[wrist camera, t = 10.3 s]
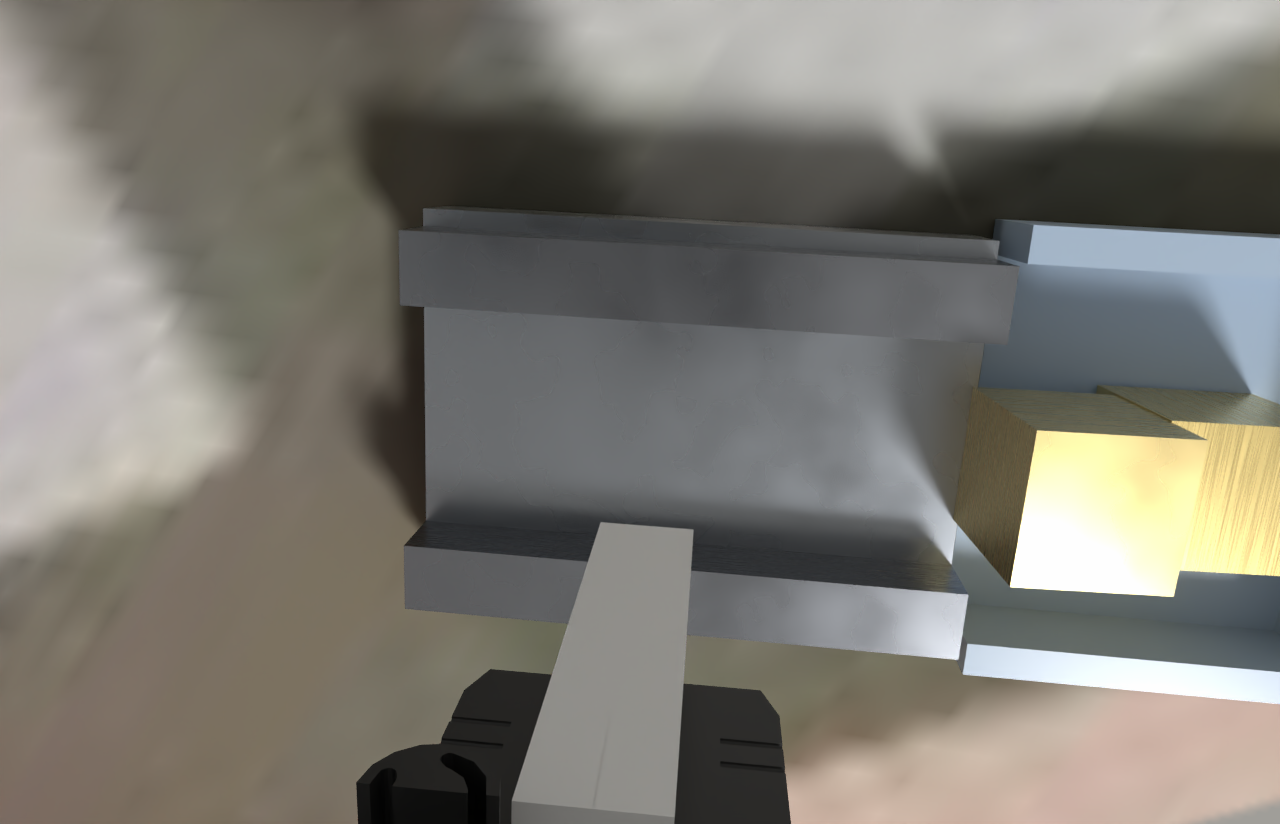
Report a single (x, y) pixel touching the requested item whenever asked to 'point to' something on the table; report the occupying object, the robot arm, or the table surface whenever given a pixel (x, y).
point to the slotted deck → (701, 415)
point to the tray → (1133, 357)
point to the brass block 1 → (1077, 491)
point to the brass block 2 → (1226, 476)
